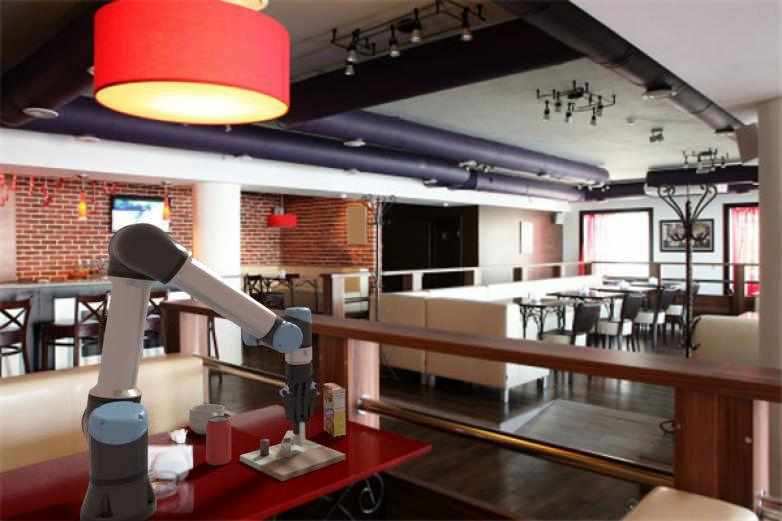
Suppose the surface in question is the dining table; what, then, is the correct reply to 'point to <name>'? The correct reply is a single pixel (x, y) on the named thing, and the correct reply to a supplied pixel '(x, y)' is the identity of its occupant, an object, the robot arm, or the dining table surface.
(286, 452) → the bar
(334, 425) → the candy box
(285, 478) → the board
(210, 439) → the beer can
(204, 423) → the teacup
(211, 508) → the dining table surface
